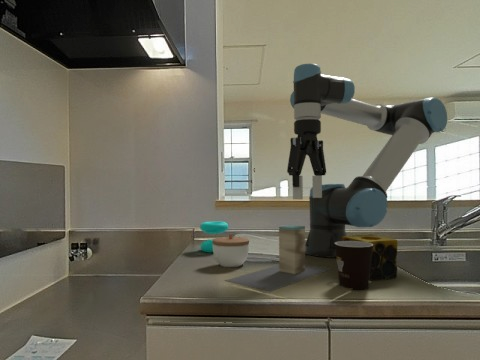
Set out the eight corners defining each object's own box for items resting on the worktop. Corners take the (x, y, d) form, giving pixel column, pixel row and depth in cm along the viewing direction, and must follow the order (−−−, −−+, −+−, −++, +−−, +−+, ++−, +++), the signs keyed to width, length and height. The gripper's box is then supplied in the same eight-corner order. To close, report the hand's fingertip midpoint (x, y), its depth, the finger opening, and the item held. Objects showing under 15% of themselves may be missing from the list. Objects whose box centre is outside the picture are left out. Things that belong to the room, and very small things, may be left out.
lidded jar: (227, 272, 106) (227, 237, 105) (205, 265, 114) (205, 233, 114) (256, 266, 112) (256, 234, 112) (233, 260, 121) (233, 230, 121)
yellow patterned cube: (340, 273, 104) (340, 235, 104) (371, 269, 108) (371, 233, 108) (365, 282, 94) (365, 241, 94) (398, 278, 98) (398, 239, 98)
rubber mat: (289, 263, 116) (289, 261, 116) (332, 270, 107) (332, 268, 107) (224, 282, 95) (224, 280, 95) (270, 292, 86) (270, 291, 86)
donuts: (230, 223, 133) (201, 224, 132) (230, 252, 133) (201, 253, 132) (226, 220, 143) (199, 221, 142) (226, 247, 143) (199, 248, 142)
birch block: (289, 267, 108) (289, 224, 108) (305, 270, 105) (304, 226, 105) (279, 271, 105) (279, 226, 105) (294, 274, 101) (294, 228, 101)
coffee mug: (375, 293, 86) (375, 247, 86) (335, 290, 87) (335, 246, 87) (369, 279, 97) (369, 239, 97) (333, 277, 99) (333, 238, 99)
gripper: (316, 125, 121) (316, 196, 122) (273, 117, 105) (273, 199, 105) (337, 122, 117) (338, 197, 117) (296, 113, 100) (297, 200, 100)
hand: (307, 198), depth 111 cm, fingers open, 10 cm apart
